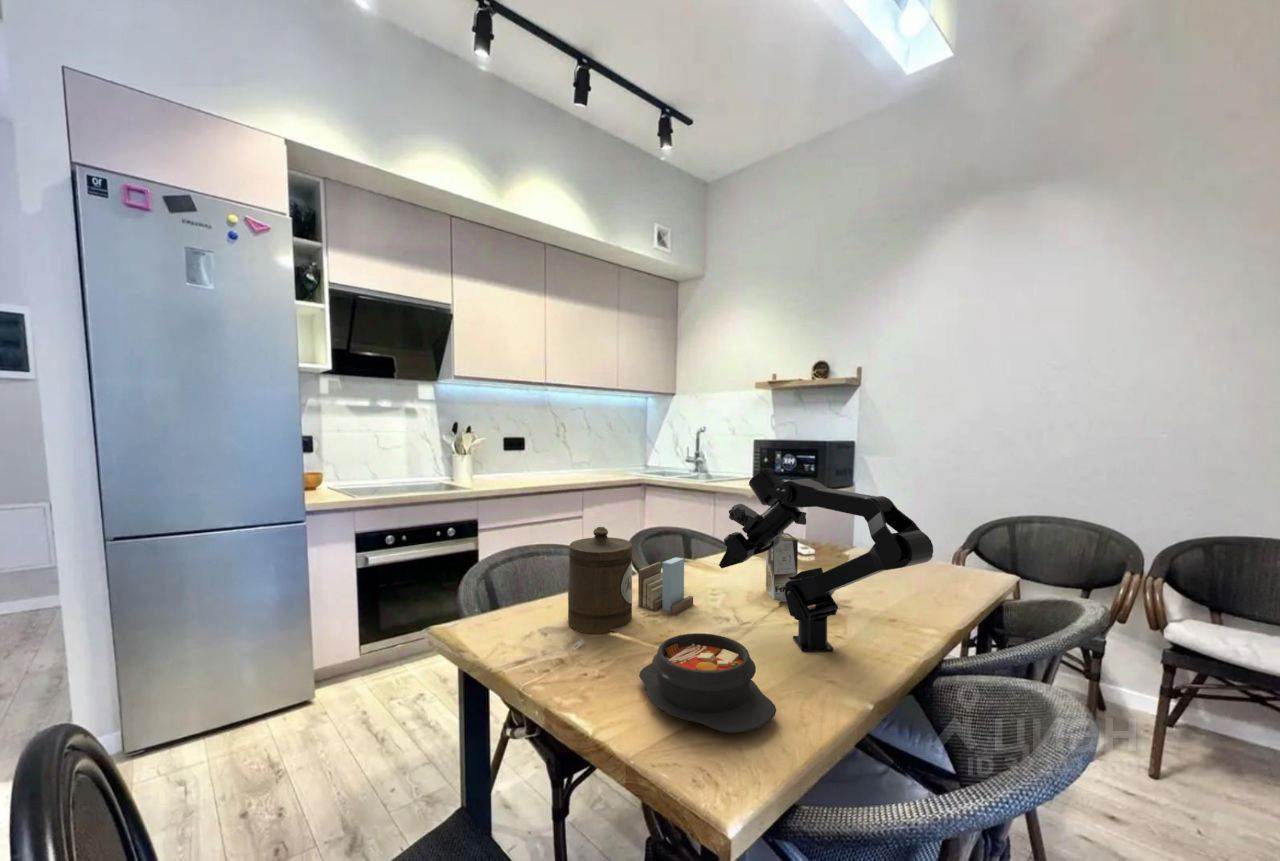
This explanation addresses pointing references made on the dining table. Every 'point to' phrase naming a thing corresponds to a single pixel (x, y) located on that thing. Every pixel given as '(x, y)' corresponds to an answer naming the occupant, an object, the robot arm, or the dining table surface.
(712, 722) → the casserole
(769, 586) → the coffee box
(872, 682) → the dining table surface
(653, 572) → the walnut rack
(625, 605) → the wooden container
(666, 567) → the grey-blue panel
